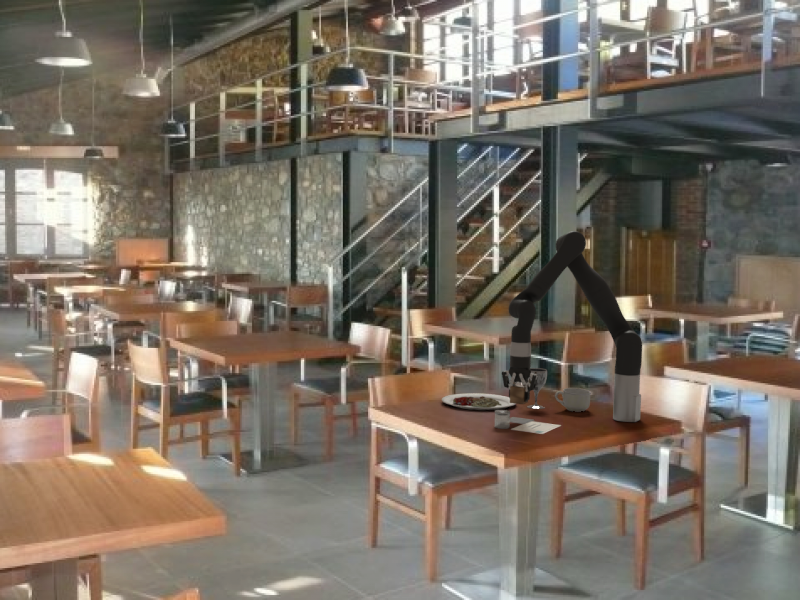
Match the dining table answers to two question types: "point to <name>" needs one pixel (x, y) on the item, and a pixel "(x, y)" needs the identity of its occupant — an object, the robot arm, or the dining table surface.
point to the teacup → (574, 399)
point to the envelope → (536, 427)
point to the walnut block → (517, 394)
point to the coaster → (520, 420)
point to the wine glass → (538, 384)
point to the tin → (502, 419)
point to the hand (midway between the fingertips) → (519, 400)
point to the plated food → (478, 401)
